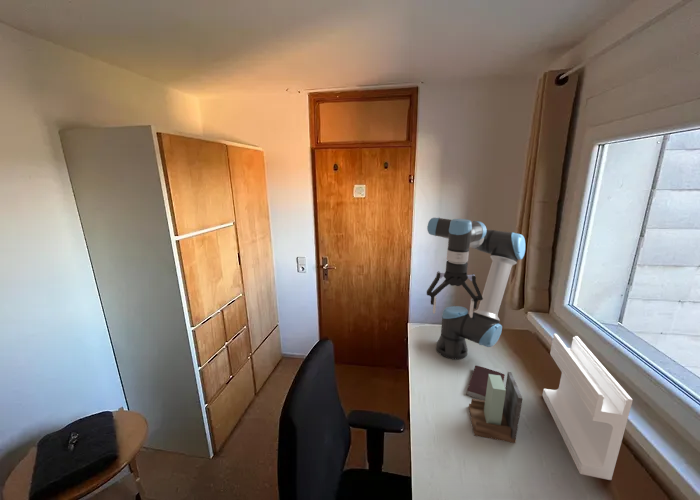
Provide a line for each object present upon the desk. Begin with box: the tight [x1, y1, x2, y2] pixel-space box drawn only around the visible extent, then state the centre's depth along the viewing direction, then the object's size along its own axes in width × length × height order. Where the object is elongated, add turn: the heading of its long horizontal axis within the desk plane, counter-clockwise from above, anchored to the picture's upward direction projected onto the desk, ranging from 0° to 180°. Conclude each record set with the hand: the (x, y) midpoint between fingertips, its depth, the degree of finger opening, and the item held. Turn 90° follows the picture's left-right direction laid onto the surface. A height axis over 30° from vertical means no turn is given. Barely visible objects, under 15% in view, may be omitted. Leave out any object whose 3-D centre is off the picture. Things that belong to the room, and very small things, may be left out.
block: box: [542, 333, 634, 481], centre depth 107 cm, size 35×8×28 cm, turn 166°
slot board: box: [468, 371, 524, 444], centre depth 111 cm, size 14×13×18 cm
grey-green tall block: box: [484, 374, 506, 425], centre depth 111 cm, size 8×4×16 cm, turn 167°
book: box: [466, 364, 505, 400], centre depth 133 cm, size 12×19×3 cm, turn 150°
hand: (452, 314), depth 121 cm, fingers open, 13 cm apart
